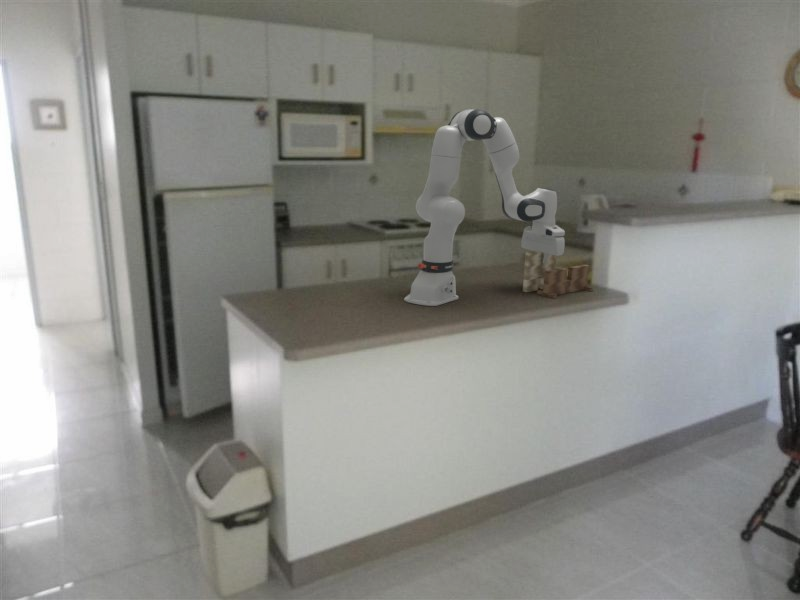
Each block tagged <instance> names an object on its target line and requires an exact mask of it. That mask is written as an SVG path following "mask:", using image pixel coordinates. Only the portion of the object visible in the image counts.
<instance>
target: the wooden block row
mask: <svg viewBox="0 0 800 600" xmlns="http://www.w3.org/2000/svg"><path fill="white" fill-rule="evenodd" d="M589 275H590V265H589V264H581V265H576V266H575V265H574V266H569V267H568V269H567V268H563V267H562V268H555V270H548V271H545V276H544V288H543V289H538V290H537V292H536V294H537V295H538V296H539V295H540V296H543V297H545V298H549V299H552V300H554V299H557V296H558V295H563V294H569V293H574V292H579V291H587V292H593V291H594V287H593V286H590V285H588V284H589Z"/></svg>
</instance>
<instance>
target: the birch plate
mask: <svg viewBox="0 0 800 600" xmlns="http://www.w3.org/2000/svg"><path fill="white" fill-rule="evenodd" d="M524 255H525V259H524V268H523V269H524V270H523V271H524V272H523V285H522V293H523V292H524V293H530V292H535V291H537V290H543V288H544V276H545V271H548V270H555V269H556V265H557V256H555V255H551V254H550V256H549V257H548V259H547V263H546V264H542V263H541V259H543V258H544V253H542V252H539V251H533V250H531V251H526V252H525V254H524ZM538 286H539V287H538ZM538 288H539V289H538Z"/></svg>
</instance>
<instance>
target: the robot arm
mask: <svg viewBox="0 0 800 600" xmlns="http://www.w3.org/2000/svg"><path fill="white" fill-rule="evenodd" d="M433 138H434V139H433V143H432V145H431V147H432V148H431V154H430V163H429V169H428V175H427V176H428V177H427V180H426V183H425V186H424V189H423V192H422V193H421V195H420V196H419V197H418V198H417V199H416V201H415V212H416V213H417V215H418V216H419V217H420V218H421V219H422V220H423V221H425V222H428V223H430V227H429V231H428V234H427V235H426V236H425V238H424V239H423V258H422V260H421V262H418V263H417V268H418V269H420V271H419V273H418V274H417V276H416V277H415V279H414V280H413V282H412V283H411V286H410V293H409V294H407V295H406V296H405V297H403V298H404V299H403V301H404V302H406V303H409V304H414V305H419V306H420V305H421V306H426V307H427V306H429V307H437V306H440V305H445V304H446V303H450V302H453V301H456V300H459V299H460V298H459V295H457V291H456V290H457V288H456V287H457V286H456V284H457V282H456V276H455V275H454V273H453V269H454V260H453V251H454V250H453V247H454V239H455V236H456V232H457V229H458V228H459V225H460V224H461V223H462V222H463V221H464V219H465V216H466V208H465V206H464V204H463V202H461V201H460V200H459V199H457V198H455V197H454V196H451V195H450V193H451V191H452V190H453V189H452V188H453V187H454V185H455V184H456V183H457V182H458V179H459V175H460V167H461V162H462V161H461V160H462V151H463V147H464V144H465V143H466V141H468V142H469V141H471V142H472V141H482V142H483V144H484V146H485V149H486V152H487V154H488V157H489V159H490V161H491V164H492V167H493V171H494V175H495V178H496V181H497V184H498V188H499V191H500V194H501V208H502V213H503V214H504V216H506V217H507V218H508V219H512V220H517V221H522V222H531V221H532V226H529V225H528V226H525V227H524V228H523V233H522V237H521V243H520V247H521V248H522V249H523V250H524V249H526V250H529V251H539V252H542V253H544V258H543V259H541V263H542V264H546V263H547V259H548V257H549V256H550V254H551V255H555V256H556V257H558V256H562V255H563V254H564V253H565V244H566V241H565V237H564V236H565V234H566V232H565V230H564V229H563V228H561V227H560V226H559V225H557V224H556V213H557V208H558V195H557V192H556V191H555V190H554V189H551V188H546V187H536V189H535V190H534V191H532V192H531V193H528V194H526V195H523V194H521V193H520V192H519V191H518V190H517V185H516V183H515V179H514V176H513V169H514V167H515V166H516V165H517V164H518V162H519V160H520V151H519V147H518V143H517V142H516V138H515V136H514V134H513V131H512V130H511V127H510V126H509V124H508V122H507V121H506V120H505V119H504V118H503V117H500V116H499V117H498V116H496V117H493V116H491V114H490V113H489V112H487V111H486V110H484V109H480V108H477V109H472V108H469V109H464V110H460V111H458V112H456V113H455V114H454V115H453V116H452V118H451V119H450V121H449V122H448V124H446V125H444V126H440V127H439V128H438V129H437V130H436V132H435V135H434V137H433Z"/></svg>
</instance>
